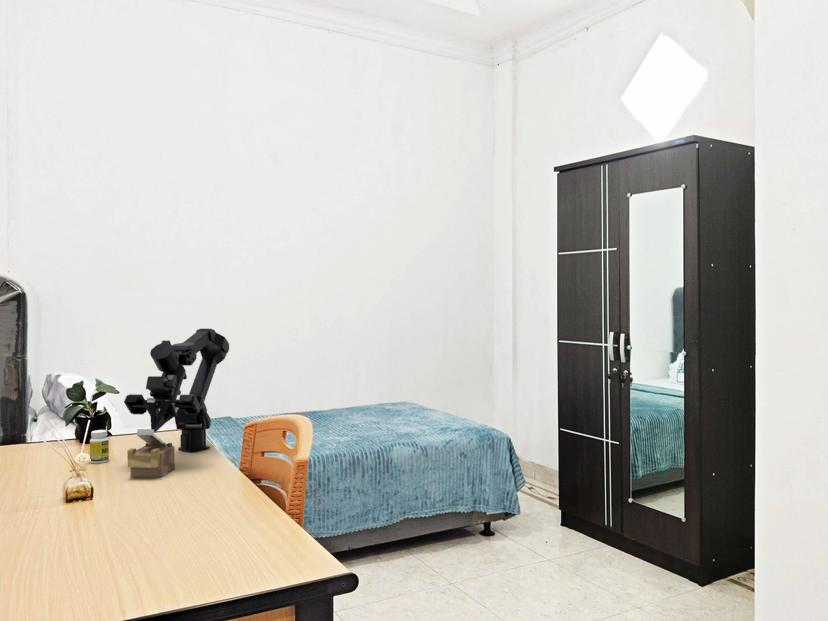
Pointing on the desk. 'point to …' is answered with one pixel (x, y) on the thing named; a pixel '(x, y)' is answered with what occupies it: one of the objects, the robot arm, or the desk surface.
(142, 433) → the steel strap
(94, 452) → the supplement bottle
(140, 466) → the walnut box
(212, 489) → the desk surface
